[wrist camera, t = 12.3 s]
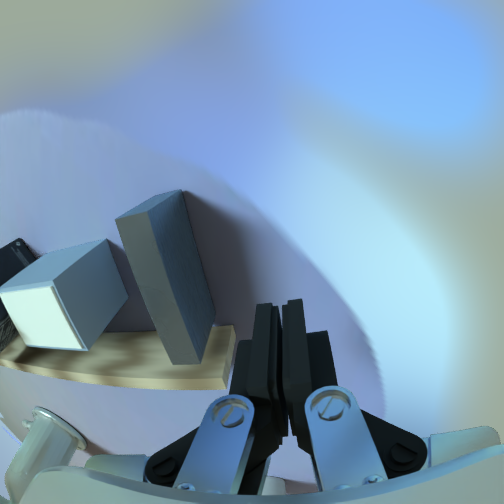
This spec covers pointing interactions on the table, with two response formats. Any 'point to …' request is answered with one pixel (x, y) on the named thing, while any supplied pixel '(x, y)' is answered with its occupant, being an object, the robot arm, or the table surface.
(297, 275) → the table surface
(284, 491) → the coffee cup
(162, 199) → the bookend
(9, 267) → the small box
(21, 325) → the pale grey block
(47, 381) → the table surface
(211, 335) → the curved wooden plank
